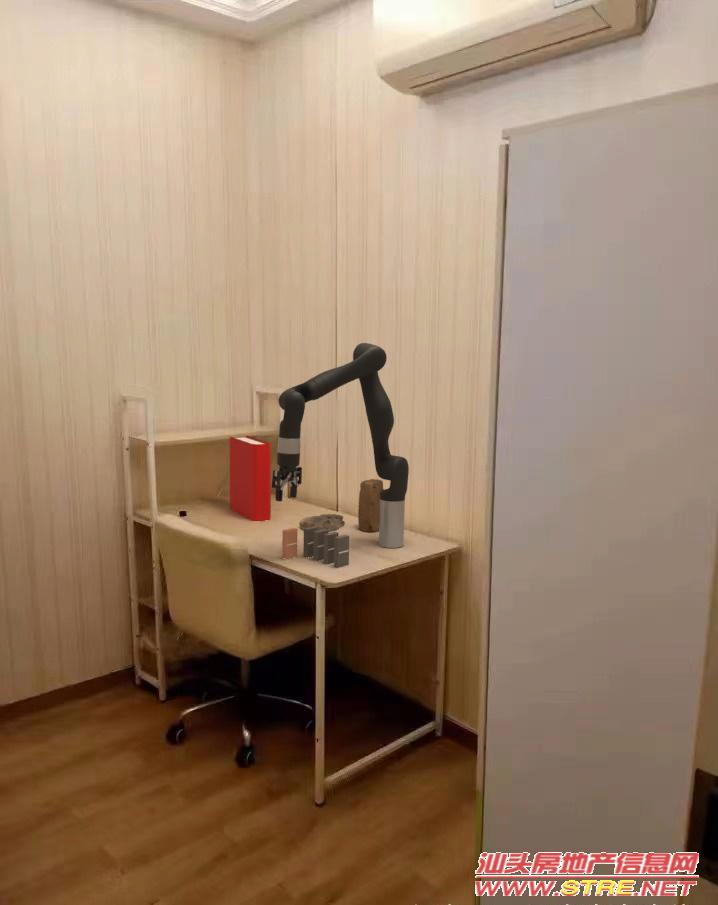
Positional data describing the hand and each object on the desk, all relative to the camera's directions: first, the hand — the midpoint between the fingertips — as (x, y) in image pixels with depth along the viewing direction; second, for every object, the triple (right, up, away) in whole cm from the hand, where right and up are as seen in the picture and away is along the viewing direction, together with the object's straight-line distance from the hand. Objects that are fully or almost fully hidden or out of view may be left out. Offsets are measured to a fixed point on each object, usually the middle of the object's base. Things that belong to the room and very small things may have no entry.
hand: (286, 499), depth 244 cm
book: (-22, -11, +68) cm, 72 cm away
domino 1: (+1, -21, +7) cm, 22 cm away
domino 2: (+8, -20, +10) cm, 24 cm away
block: (+30, -15, +47) cm, 57 cm away
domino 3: (+11, -21, +6) cm, 24 cm away
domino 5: (+18, -22, -1) cm, 29 cm away
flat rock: (+11, -15, +49) cm, 53 cm away
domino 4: (+15, -22, +3) cm, 26 cm away
